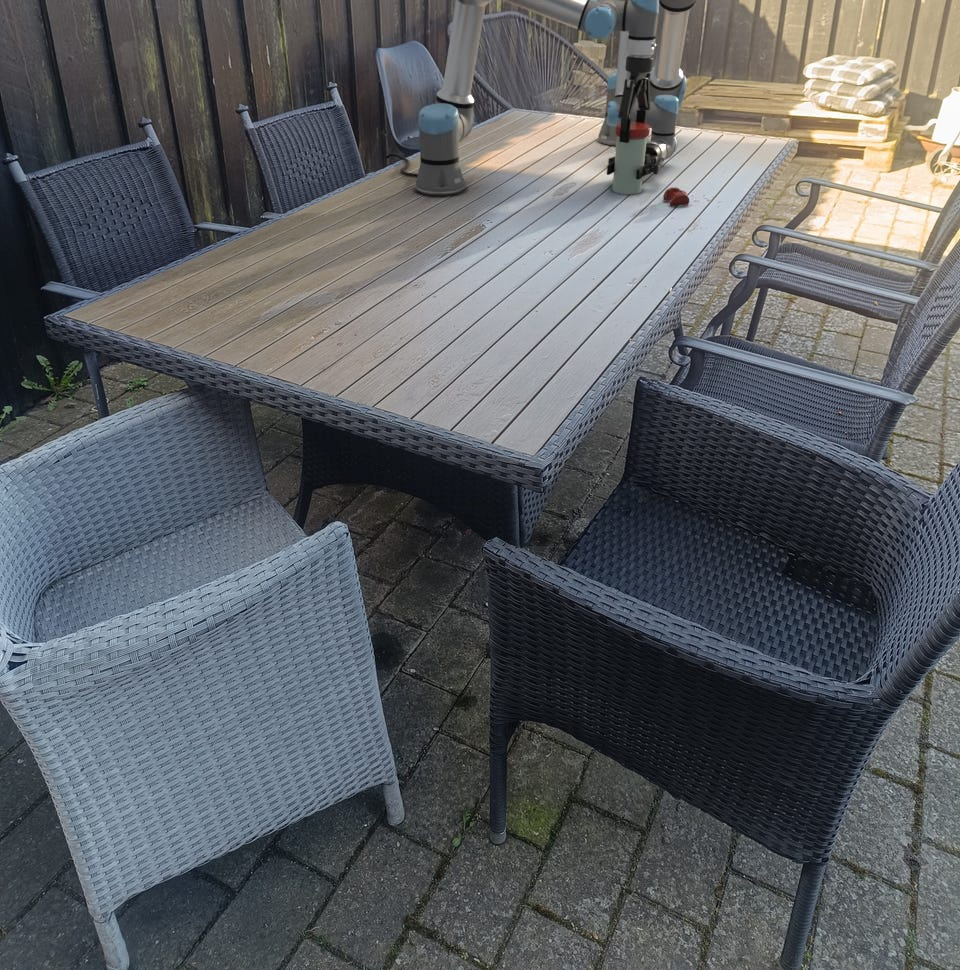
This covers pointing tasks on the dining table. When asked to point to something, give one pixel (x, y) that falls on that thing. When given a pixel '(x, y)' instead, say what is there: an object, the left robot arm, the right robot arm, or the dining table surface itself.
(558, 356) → the dining table surface
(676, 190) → the dental model
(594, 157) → the dining table surface
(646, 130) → the lid
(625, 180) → the jar
